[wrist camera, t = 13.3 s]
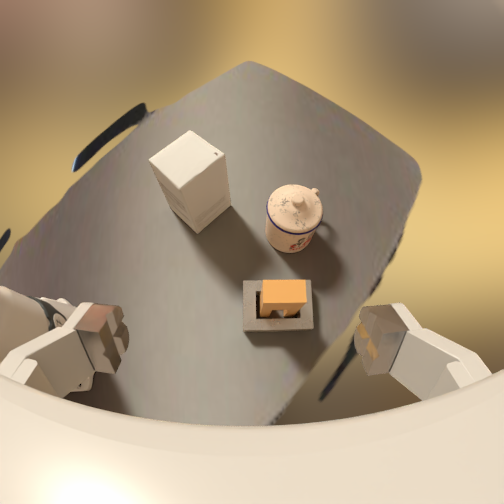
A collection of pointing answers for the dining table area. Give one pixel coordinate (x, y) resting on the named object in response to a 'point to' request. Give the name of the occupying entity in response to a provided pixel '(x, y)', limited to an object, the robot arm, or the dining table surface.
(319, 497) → the robot arm
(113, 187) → the dining table surface
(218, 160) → the supplement box
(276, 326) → the rectangular frame block
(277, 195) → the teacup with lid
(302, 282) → the orange notched arch block
